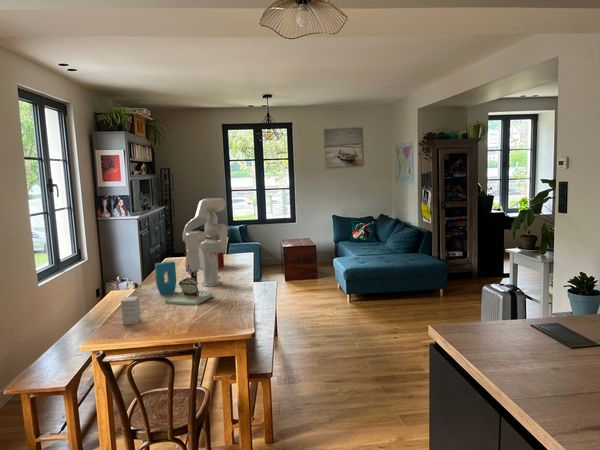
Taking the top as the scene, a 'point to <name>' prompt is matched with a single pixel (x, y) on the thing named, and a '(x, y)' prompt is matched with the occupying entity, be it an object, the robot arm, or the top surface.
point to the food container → (189, 287)
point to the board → (187, 299)
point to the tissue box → (218, 255)
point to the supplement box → (130, 310)
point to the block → (160, 282)
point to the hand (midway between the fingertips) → (194, 281)
